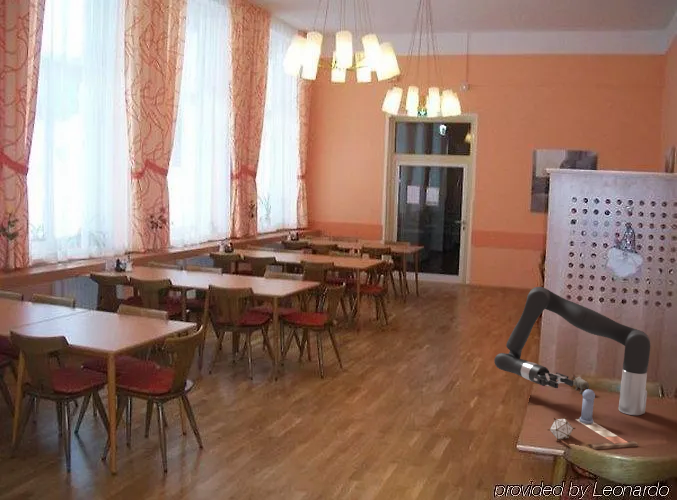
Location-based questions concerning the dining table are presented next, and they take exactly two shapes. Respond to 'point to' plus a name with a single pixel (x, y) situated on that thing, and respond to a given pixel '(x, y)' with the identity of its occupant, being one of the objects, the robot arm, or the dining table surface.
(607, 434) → the game board
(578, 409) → the dining table surface
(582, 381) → the rhino figurine
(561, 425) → the game die
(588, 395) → the pawn
